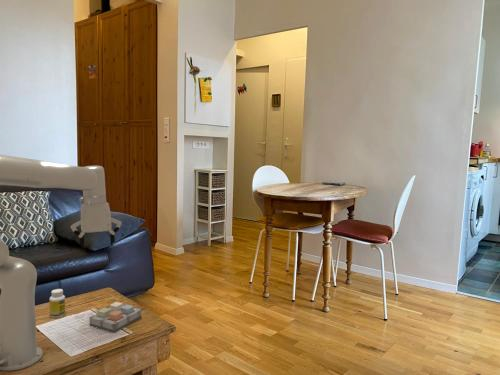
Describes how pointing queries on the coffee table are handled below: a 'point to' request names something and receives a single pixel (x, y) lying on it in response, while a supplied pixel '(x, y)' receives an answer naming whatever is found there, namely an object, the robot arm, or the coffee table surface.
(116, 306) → the key ivory
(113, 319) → the key terracotta
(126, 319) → the keypad
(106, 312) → the key sage
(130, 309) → the key slate
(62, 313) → the supplement bottle
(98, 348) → the coffee table surface
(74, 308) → the coffee table surface
